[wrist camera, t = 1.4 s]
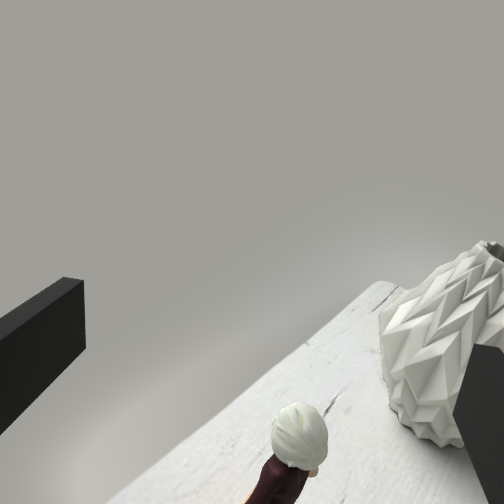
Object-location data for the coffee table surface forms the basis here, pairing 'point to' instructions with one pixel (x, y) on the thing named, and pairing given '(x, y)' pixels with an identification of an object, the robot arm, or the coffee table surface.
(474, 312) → the vase
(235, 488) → the coffee table surface
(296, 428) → the grandmother figurine
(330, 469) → the coffee table surface
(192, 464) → the coffee table surface
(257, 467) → the coffee table surface
